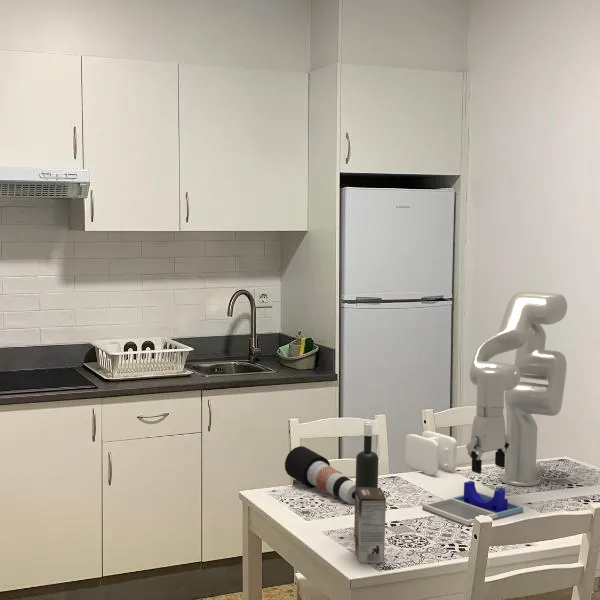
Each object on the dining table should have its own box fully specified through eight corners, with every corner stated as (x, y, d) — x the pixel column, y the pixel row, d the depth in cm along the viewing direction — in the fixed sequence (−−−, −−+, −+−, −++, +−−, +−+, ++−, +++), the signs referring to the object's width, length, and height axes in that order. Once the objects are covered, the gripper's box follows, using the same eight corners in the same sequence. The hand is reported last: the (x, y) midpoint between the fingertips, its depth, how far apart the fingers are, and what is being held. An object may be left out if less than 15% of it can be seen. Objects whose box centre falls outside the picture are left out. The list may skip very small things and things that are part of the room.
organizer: (402, 467, 316) (403, 432, 315) (425, 462, 323) (426, 428, 322) (434, 478, 304) (435, 442, 303) (457, 473, 311) (459, 437, 310)
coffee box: (353, 549, 238) (355, 486, 237) (379, 549, 239) (381, 486, 237) (357, 563, 229) (359, 497, 228) (384, 563, 230) (386, 497, 228)
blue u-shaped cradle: (507, 509, 272) (508, 488, 271) (498, 512, 269) (499, 491, 268) (472, 499, 281) (473, 479, 280) (463, 502, 278) (464, 482, 277)
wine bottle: (360, 540, 245) (363, 425, 242) (350, 533, 251) (353, 420, 248) (380, 537, 248) (383, 423, 245) (369, 530, 253) (372, 419, 250)
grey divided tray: (477, 496, 285) (477, 491, 285) (523, 512, 271) (523, 507, 271) (422, 509, 272) (422, 504, 272) (467, 526, 258) (467, 521, 258)
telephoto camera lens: (358, 525, 271) (348, 497, 267) (290, 483, 298) (280, 458, 294) (384, 504, 275) (374, 477, 271) (315, 465, 303) (305, 440, 298)
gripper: (500, 404, 280) (498, 461, 282) (458, 412, 270) (457, 471, 272) (520, 409, 274) (518, 467, 276) (478, 418, 264) (476, 478, 266)
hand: (488, 469), depth 274 cm, fingers open, 9 cm apart
